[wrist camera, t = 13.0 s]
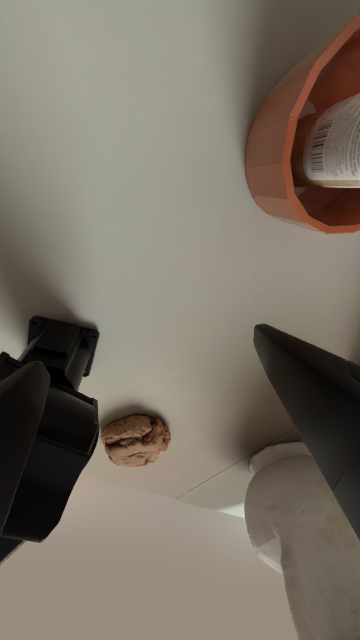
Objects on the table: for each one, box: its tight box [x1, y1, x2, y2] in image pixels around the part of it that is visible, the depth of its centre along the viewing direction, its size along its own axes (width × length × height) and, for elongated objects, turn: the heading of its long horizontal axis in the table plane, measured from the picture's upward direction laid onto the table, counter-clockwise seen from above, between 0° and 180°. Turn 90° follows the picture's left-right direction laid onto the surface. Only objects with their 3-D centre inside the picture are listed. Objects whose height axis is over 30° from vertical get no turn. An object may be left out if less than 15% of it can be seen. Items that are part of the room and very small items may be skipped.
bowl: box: [245, 14, 360, 234], centre depth 15 cm, size 10×10×6 cm
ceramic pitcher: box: [244, 441, 360, 640], centre depth 32 cm, size 22×20×25 cm
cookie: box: [101, 415, 171, 467], centre depth 33 cm, size 10×11×3 cm
